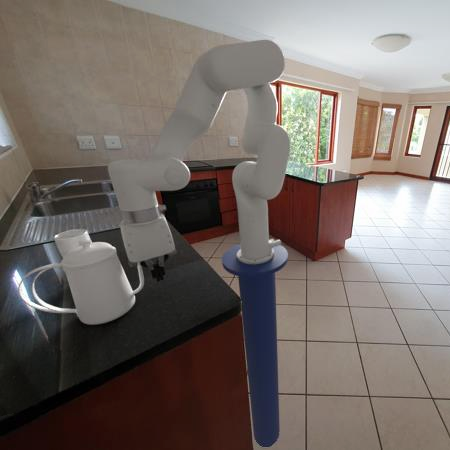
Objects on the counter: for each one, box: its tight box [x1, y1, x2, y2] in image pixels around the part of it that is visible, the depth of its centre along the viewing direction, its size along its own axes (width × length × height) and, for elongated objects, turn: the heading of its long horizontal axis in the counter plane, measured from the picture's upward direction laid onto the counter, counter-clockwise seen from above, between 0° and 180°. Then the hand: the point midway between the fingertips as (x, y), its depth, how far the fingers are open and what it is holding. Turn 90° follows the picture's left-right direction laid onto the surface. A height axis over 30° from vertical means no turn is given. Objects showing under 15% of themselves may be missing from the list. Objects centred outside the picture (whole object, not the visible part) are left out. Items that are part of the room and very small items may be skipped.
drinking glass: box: [53, 228, 92, 259], centre depth 65 cm, size 7×7×15 cm
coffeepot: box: [17, 239, 145, 326], centre depth 55 cm, size 11×25×19 cm, turn 126°
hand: (159, 278), depth 63 cm, fingers closed
